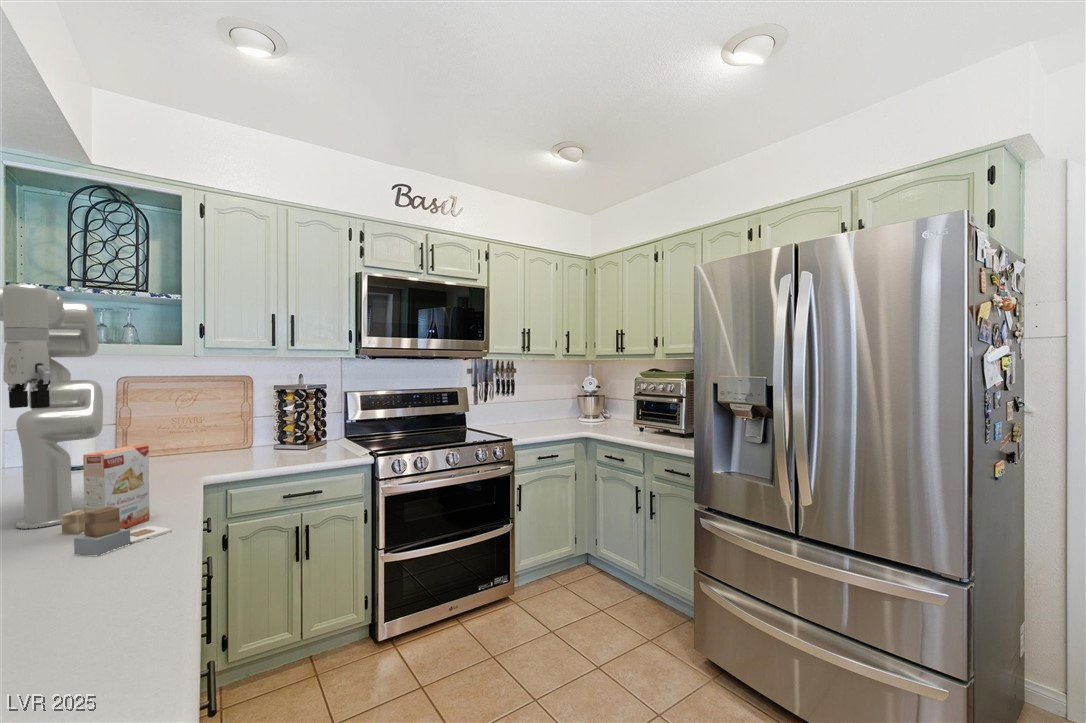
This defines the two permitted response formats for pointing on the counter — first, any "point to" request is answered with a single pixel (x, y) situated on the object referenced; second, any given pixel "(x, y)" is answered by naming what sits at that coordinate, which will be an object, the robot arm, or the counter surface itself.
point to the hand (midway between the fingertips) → (29, 407)
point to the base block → (101, 543)
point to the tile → (147, 533)
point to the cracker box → (118, 482)
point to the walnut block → (102, 521)
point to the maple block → (73, 522)
